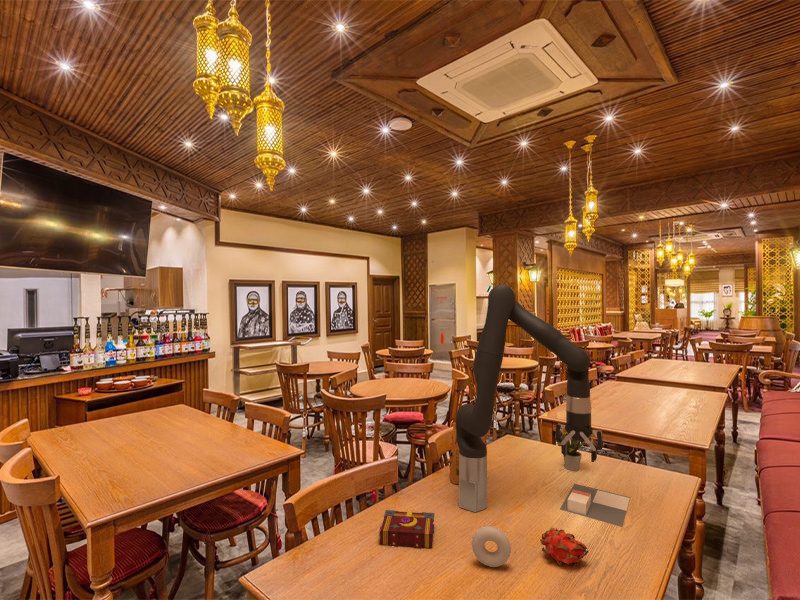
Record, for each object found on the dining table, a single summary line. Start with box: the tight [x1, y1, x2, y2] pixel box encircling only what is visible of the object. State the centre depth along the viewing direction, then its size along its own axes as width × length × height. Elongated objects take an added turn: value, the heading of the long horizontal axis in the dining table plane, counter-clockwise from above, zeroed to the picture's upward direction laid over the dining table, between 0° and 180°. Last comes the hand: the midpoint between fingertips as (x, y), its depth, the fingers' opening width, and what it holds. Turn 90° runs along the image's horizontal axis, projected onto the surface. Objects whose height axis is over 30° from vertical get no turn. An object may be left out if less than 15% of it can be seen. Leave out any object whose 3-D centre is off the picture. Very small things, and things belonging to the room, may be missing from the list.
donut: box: [471, 525, 512, 568], centre depth 105 cm, size 10×4×10 cm, turn 75°
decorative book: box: [378, 509, 435, 549], centre depth 118 cm, size 11×16×5 cm
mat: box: [559, 483, 631, 528], centre depth 135 cm, size 22×18×1 cm
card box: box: [568, 489, 591, 515], centre depth 132 cm, size 8×6×4 cm
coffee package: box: [449, 421, 482, 485], centre depth 154 cm, size 10×12×22 cm
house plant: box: [555, 430, 589, 472], centre depth 162 cm, size 14×14×16 cm
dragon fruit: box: [539, 527, 589, 567], centre depth 106 cm, size 8×8×12 cm
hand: (578, 458), depth 132 cm, fingers open, 8 cm apart
